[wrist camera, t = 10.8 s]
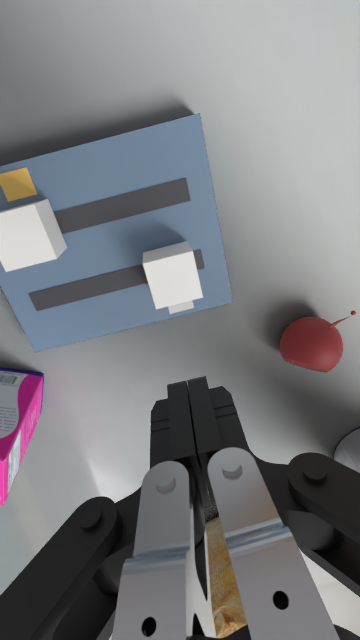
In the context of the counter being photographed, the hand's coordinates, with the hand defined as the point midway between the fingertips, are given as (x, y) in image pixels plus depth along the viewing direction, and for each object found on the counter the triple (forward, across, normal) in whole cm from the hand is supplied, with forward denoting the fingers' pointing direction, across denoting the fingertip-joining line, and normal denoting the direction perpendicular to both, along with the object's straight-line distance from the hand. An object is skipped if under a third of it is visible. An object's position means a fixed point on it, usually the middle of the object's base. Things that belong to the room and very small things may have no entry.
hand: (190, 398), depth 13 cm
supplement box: (+21, +20, +10) cm, 31 cm away
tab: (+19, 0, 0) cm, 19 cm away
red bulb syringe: (+22, -13, +11) cm, 27 cm away
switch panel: (+21, +5, -3) cm, 21 cm away
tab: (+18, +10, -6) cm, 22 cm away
